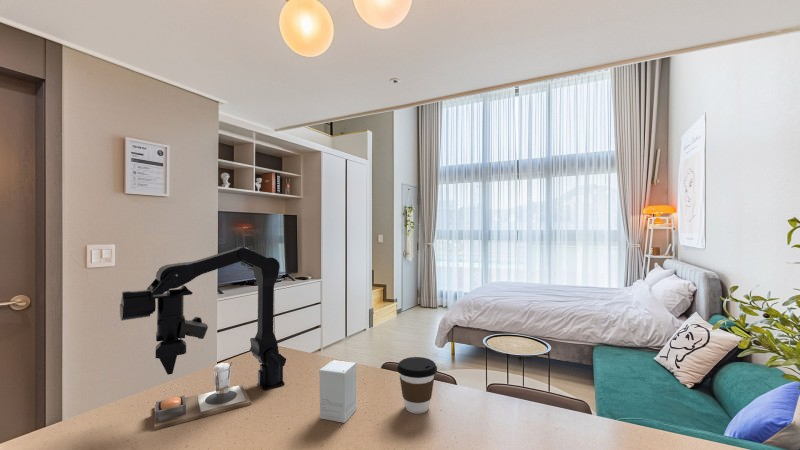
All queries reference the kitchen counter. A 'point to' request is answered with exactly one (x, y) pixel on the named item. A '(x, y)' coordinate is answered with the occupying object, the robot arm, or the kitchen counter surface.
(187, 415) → the board
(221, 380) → the milkshake
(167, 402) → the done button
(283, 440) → the kitchen counter surface
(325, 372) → the supplement box
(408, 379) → the coffee cup
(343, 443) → the kitchen counter surface
